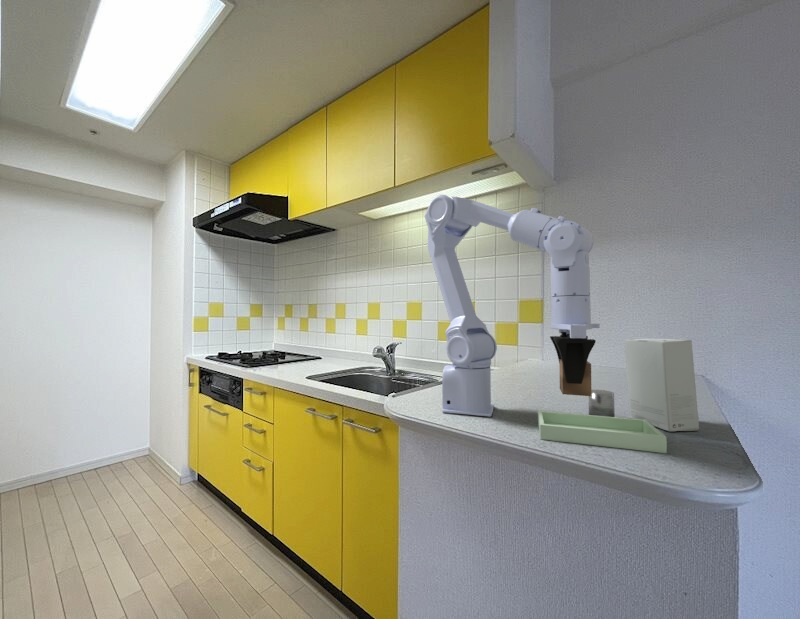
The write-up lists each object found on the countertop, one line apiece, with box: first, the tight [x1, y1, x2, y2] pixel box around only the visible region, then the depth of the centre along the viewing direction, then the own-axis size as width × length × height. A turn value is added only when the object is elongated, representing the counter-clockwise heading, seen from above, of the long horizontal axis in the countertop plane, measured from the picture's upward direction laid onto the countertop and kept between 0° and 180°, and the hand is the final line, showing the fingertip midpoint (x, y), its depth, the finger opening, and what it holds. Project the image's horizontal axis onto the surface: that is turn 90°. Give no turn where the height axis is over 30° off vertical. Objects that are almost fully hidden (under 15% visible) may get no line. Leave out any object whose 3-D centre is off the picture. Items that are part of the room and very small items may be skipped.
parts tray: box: [537, 410, 668, 454], centre depth 52 cm, size 16×8×2 cm, turn 70°
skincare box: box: [624, 337, 700, 432], centre depth 58 cm, size 8×6×15 cm
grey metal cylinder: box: [588, 389, 616, 417], centre depth 60 cm, size 4×4×5 cm
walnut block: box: [558, 359, 592, 397], centre depth 54 cm, size 4×4×5 cm
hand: (571, 380), depth 54 cm, fingers closed on walnut block, 4 cm apart
